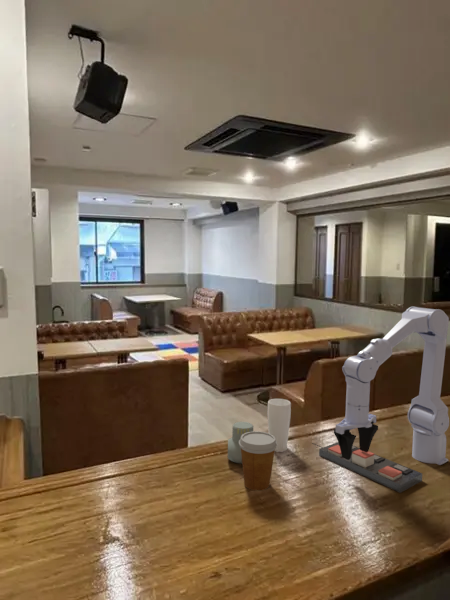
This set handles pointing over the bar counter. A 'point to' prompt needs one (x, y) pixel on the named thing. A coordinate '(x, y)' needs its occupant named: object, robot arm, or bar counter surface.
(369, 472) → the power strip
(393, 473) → the button
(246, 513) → the bar counter surface
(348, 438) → the robot arm
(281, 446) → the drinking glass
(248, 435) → the disposable coffee cup
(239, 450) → the air freshener
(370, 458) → the button
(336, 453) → the button
